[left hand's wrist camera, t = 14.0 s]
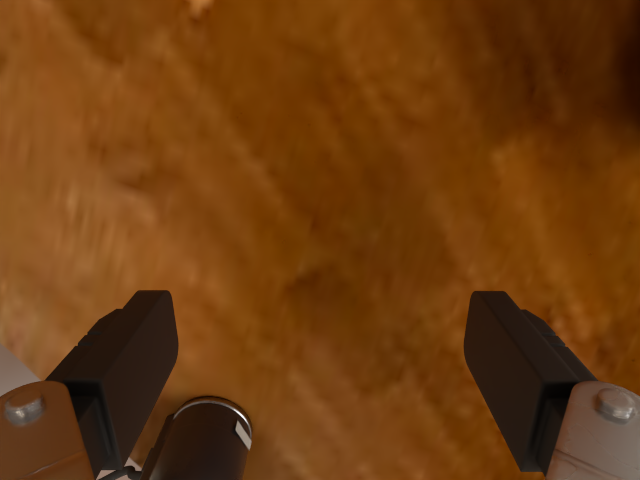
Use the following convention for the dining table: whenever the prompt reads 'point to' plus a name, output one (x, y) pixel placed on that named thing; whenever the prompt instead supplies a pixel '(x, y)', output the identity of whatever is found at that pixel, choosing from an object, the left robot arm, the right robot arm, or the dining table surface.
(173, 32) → the dining table surface
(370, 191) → the dining table surface
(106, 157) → the dining table surface
